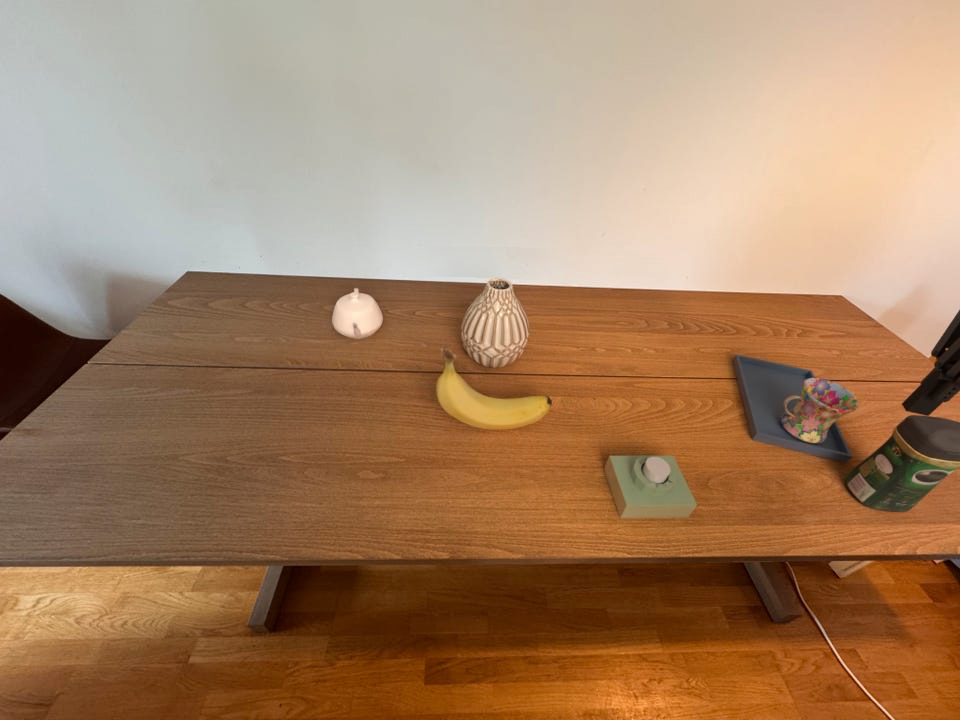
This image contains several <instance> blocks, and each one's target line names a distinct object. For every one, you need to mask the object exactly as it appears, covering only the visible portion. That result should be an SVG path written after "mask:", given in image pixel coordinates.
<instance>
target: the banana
mask: <svg viewBox="0 0 960 720" xmlns="http://www.w3.org/2000/svg"><path fill="white" fill-rule="evenodd" d="M439 352H440V354H441V356H440V357H441V359H442V360H443V361H444V363H445V365H444V366H445V367H444V369H443V372H442V373H441V374H440V375H439V377H438V378H437V380H436V383H435V393H436V399H437V402H438V404H439V405H440V406H441V408H442V409H443V410H444V411H445V413H447V414H448V415H450V416H451V417H453V418H454V419H456V420H458V421H459V422H461V423H463V424H466V425H468V426H471V427H473V428H478V429H483V430H498V431H501V430H513V429H518V428H519V429H520V428H523V427H526V426H530V425H532V424H535V423H536V422H538V421H539V420H541V419H542V418H544V417H545V416H546V415H547V414H548V412H549V411H550V409H551V407H552V405H553V402H552V401H553V400H552V399H551V398H550V396H548V395H531V396H524V397H515V398H497V397H491V396H487V395H484V394H482V393H480V392H478V391H477V390H475V389H473V388H472V387H471V386H470V385H469V384H468V383H467V382H466V381H465V380H464V378H462V376H461V375H460V374H459V373H458V372H456V369H455V366H454V361H455V360H456V359H458V356H457V355H456V354H455V352H453V351H452V348H451V347H447V346H443V347H441V348H440V350H439Z"/></svg>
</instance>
